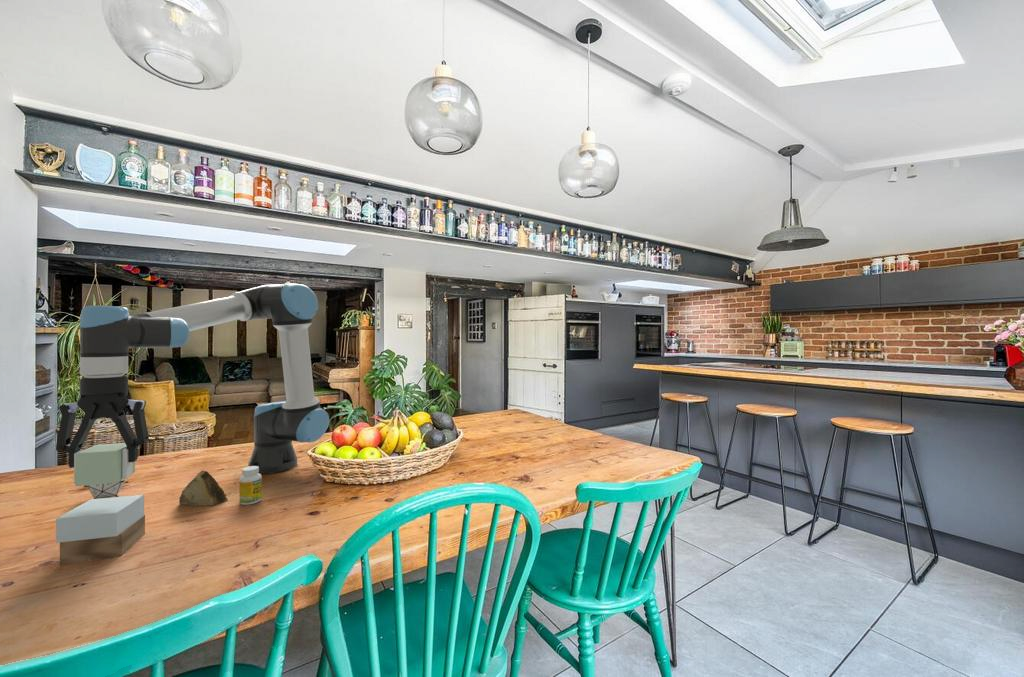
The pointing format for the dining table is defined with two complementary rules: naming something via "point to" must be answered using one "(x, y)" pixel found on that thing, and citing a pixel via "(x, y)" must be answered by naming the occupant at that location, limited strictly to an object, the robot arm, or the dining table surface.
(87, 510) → the tower top block
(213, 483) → the rock
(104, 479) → the green cube
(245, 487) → the supplement bottle
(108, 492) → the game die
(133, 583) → the dining table surface
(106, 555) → the tower base block
